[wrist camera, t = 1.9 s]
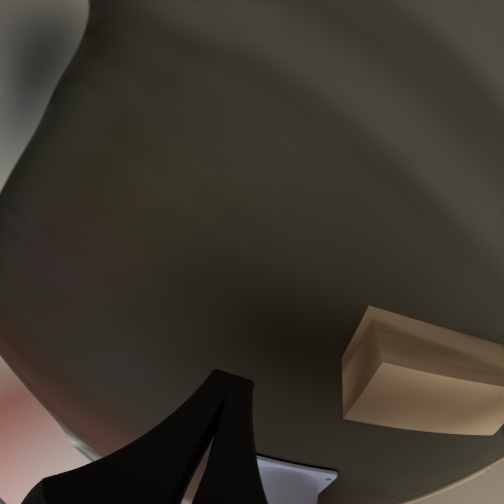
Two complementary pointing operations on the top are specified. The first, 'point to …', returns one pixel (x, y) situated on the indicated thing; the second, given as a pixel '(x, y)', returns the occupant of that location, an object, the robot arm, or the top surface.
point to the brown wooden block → (422, 377)
